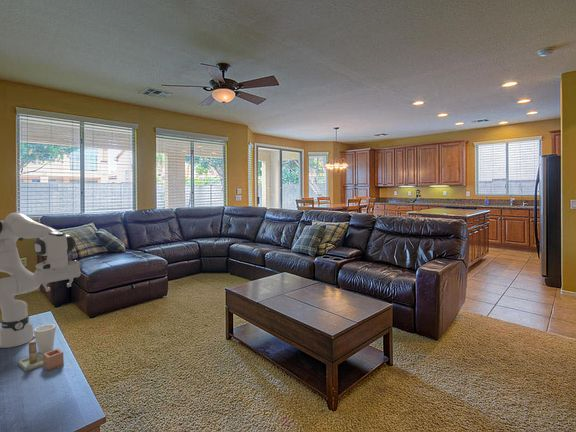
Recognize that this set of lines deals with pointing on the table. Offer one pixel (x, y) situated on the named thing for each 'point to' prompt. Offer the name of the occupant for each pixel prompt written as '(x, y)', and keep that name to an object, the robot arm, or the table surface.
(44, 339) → the foam cup
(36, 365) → the tray
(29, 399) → the table surface
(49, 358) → the brown hollow block
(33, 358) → the dowel
